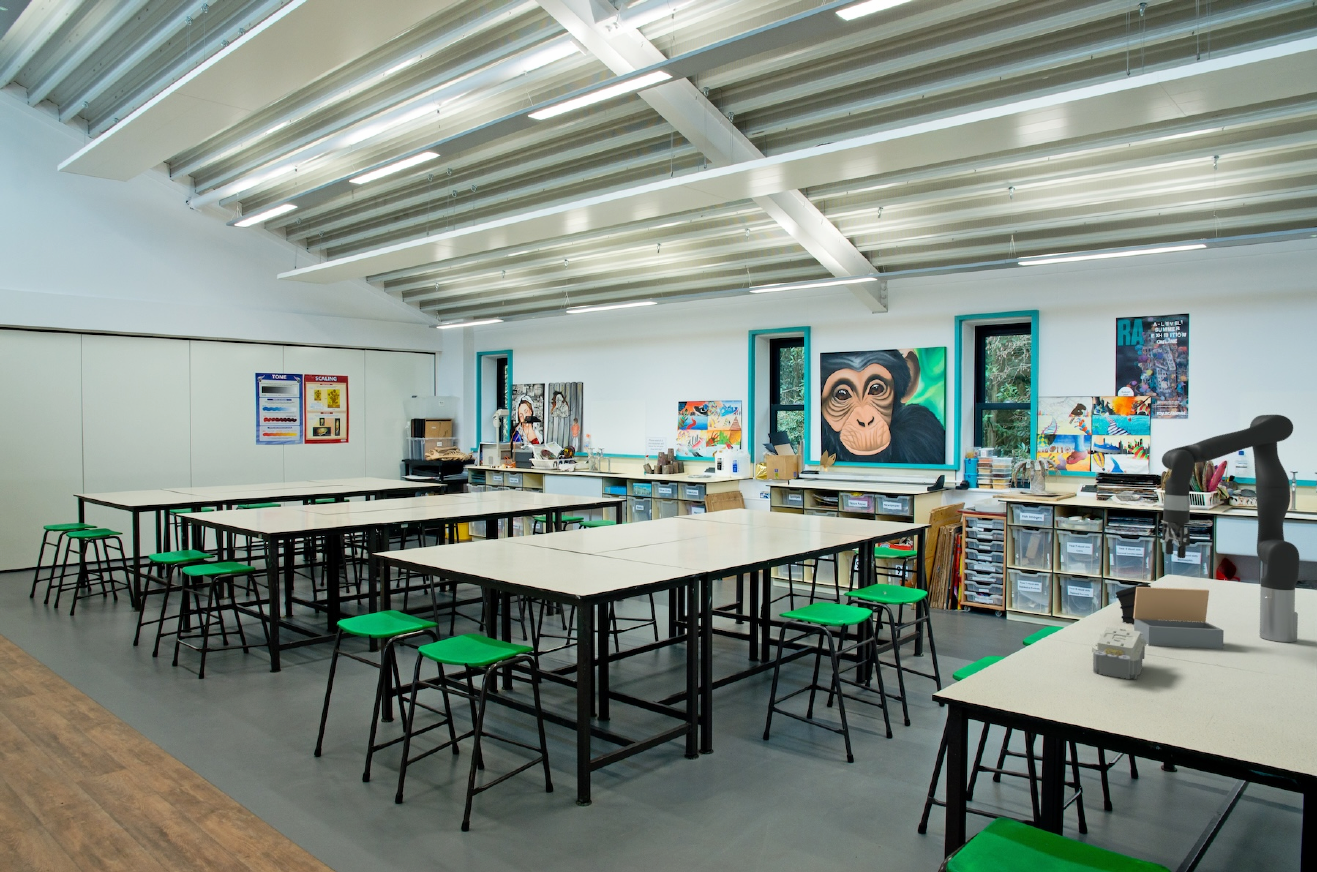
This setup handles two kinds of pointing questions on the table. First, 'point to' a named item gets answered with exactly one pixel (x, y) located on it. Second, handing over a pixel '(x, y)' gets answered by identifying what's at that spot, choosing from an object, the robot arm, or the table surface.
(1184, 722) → the table surface
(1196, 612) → the tan flat rectangular panel
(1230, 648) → the table surface
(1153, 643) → the grey rectangular box
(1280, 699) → the table surface
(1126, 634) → the electrical outlet
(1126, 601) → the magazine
